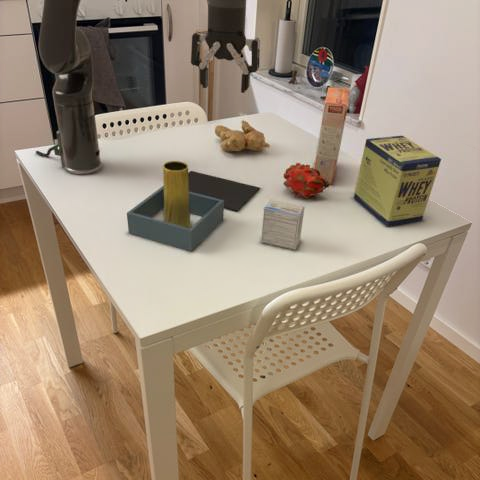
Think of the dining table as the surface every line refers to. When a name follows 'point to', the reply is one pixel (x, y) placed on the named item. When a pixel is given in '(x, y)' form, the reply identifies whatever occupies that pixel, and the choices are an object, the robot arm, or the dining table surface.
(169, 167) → the vase
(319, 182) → the dragon fruit
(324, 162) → the cracker box
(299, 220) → the medicine box
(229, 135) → the ginger root
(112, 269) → the dining table surface
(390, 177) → the protein box
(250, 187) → the mat
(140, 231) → the tub
